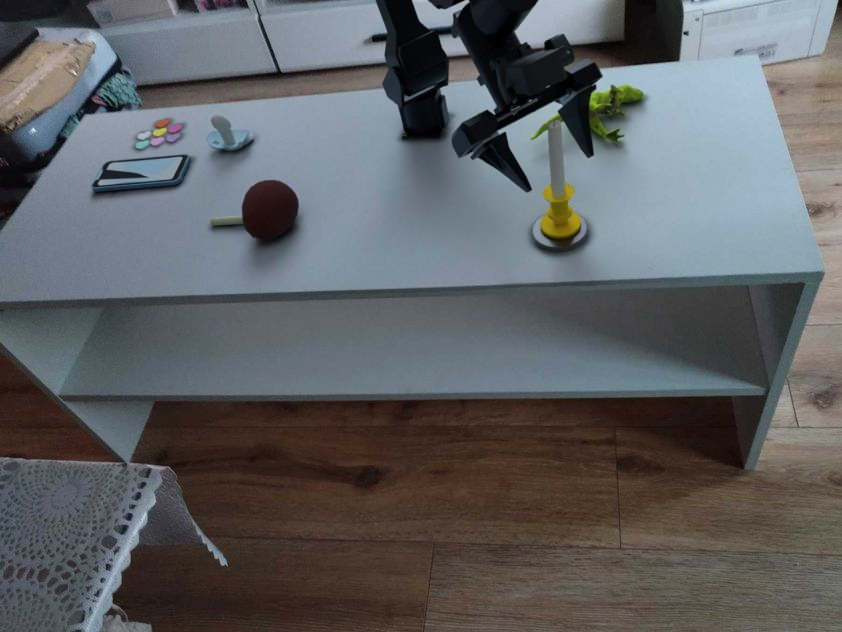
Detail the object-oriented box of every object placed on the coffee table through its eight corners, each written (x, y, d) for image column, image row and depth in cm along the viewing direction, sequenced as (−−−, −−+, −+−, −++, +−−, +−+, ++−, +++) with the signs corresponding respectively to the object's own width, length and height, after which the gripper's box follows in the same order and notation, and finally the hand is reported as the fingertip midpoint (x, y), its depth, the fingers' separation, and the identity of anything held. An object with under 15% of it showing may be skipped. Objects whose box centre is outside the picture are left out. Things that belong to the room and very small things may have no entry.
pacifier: (223, 134, 119) (207, 154, 115) (208, 100, 114) (191, 120, 110) (262, 133, 117) (247, 154, 113) (248, 99, 112) (232, 120, 109)
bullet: (215, 221, 103) (265, 218, 102) (213, 227, 103) (263, 224, 101) (211, 215, 102) (261, 212, 101) (209, 221, 102) (259, 218, 100)
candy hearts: (134, 151, 120) (133, 150, 119) (140, 126, 125) (139, 125, 124) (179, 141, 119) (179, 140, 119) (184, 116, 125) (183, 115, 124)
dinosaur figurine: (581, 175, 98) (580, 137, 93) (528, 150, 103) (524, 113, 98) (670, 107, 104) (673, 68, 100) (616, 87, 110) (616, 49, 105)
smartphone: (177, 181, 110) (88, 189, 112) (180, 186, 111) (92, 193, 113) (190, 153, 115) (105, 160, 116) (193, 158, 116) (108, 165, 117)
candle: (541, 241, 89) (532, 135, 77) (538, 214, 93) (529, 109, 81) (583, 236, 89) (580, 129, 77) (578, 209, 92) (575, 103, 80)
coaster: (529, 251, 90) (528, 246, 89) (536, 214, 94) (536, 210, 93) (584, 252, 88) (584, 248, 87) (589, 215, 92) (589, 211, 92)
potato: (300, 215, 104) (315, 202, 99) (261, 255, 100) (275, 243, 95) (261, 177, 101) (275, 161, 96) (220, 216, 97) (232, 202, 92)
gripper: (447, 55, 71) (521, 193, 73) (591, -14, 75) (657, 117, 77) (422, 96, 81) (488, 215, 83) (550, 33, 86) (609, 147, 88)
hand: (560, 173), depth 83 cm, fingers open, 9 cm apart
